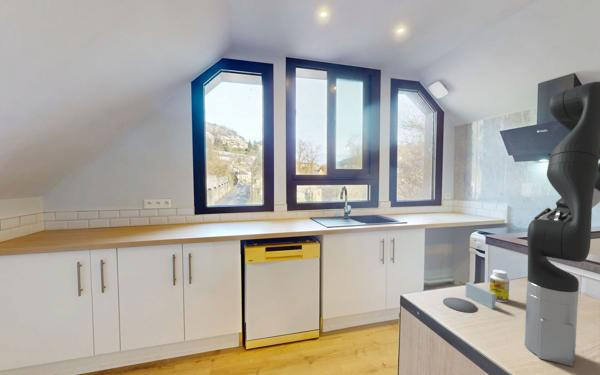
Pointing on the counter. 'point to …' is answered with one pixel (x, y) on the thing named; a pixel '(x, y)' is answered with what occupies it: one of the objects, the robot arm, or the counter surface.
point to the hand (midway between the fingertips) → (537, 233)
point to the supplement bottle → (500, 285)
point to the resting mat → (460, 304)
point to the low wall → (481, 295)
